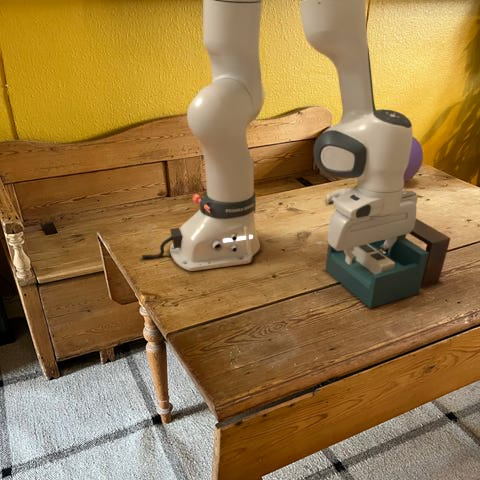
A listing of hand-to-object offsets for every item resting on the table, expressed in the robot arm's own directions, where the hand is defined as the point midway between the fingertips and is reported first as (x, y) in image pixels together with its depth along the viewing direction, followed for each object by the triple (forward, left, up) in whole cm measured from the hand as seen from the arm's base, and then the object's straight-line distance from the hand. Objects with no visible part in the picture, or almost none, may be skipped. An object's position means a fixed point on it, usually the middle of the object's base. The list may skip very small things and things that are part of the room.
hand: (367, 258), depth 108 cm
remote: (0, 0, -1) cm, 1 cm away
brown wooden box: (+13, 0, -6) cm, 14 cm away
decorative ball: (+44, +44, -7) cm, 63 cm away
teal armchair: (+2, 0, -6) cm, 7 cm away
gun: (+25, +38, -7) cm, 46 cm away
